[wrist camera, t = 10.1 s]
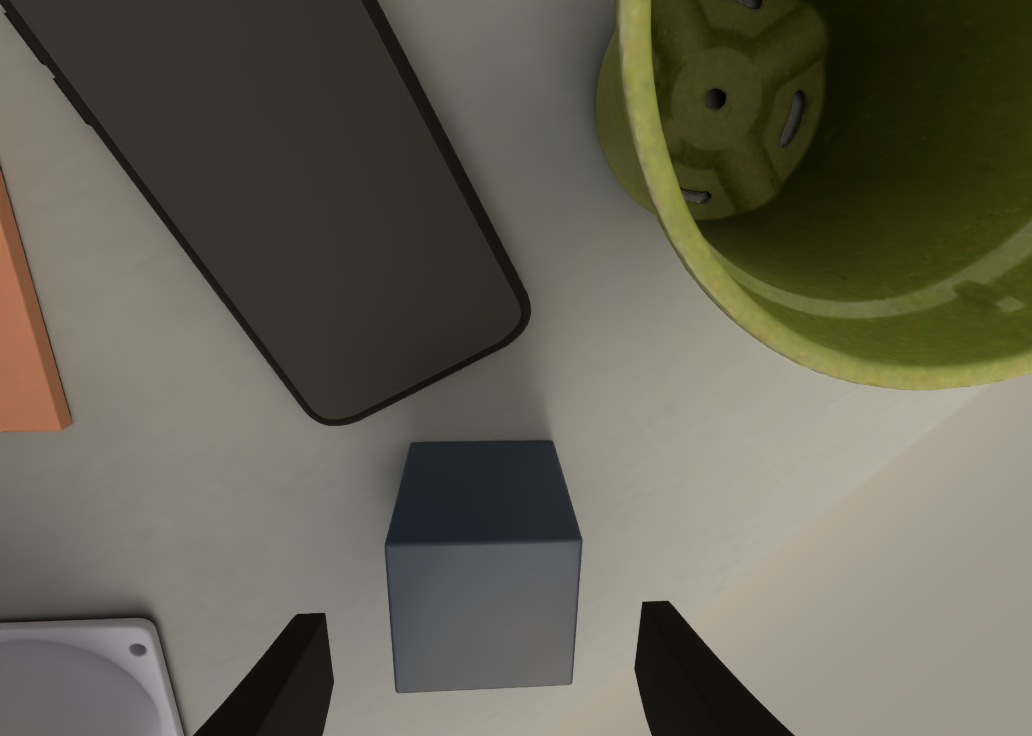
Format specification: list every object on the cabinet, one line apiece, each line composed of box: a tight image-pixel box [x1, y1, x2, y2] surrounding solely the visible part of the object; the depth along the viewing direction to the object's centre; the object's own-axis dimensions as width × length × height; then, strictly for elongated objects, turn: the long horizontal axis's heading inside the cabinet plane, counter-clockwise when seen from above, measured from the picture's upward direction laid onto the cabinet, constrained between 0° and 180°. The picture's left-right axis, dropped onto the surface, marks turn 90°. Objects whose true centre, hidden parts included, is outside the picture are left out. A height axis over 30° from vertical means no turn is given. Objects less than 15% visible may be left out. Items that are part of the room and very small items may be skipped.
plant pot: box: [596, 0, 1032, 390], centre depth 10 cm, size 9×9×9 cm
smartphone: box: [0, 0, 531, 426], centre depth 13 cm, size 7×1×15 cm
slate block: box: [385, 441, 582, 693], centre depth 15 cm, size 4×4×5 cm
